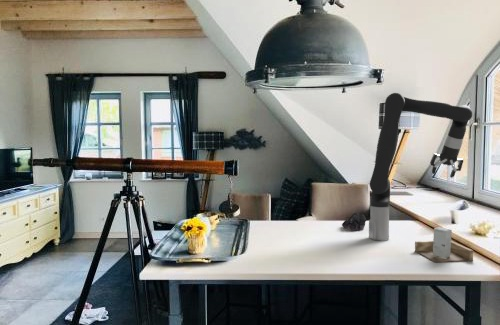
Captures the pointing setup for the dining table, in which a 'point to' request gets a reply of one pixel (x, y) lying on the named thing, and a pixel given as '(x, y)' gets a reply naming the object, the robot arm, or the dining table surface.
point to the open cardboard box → (456, 255)
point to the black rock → (354, 223)
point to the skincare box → (442, 242)
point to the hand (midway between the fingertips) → (442, 175)
